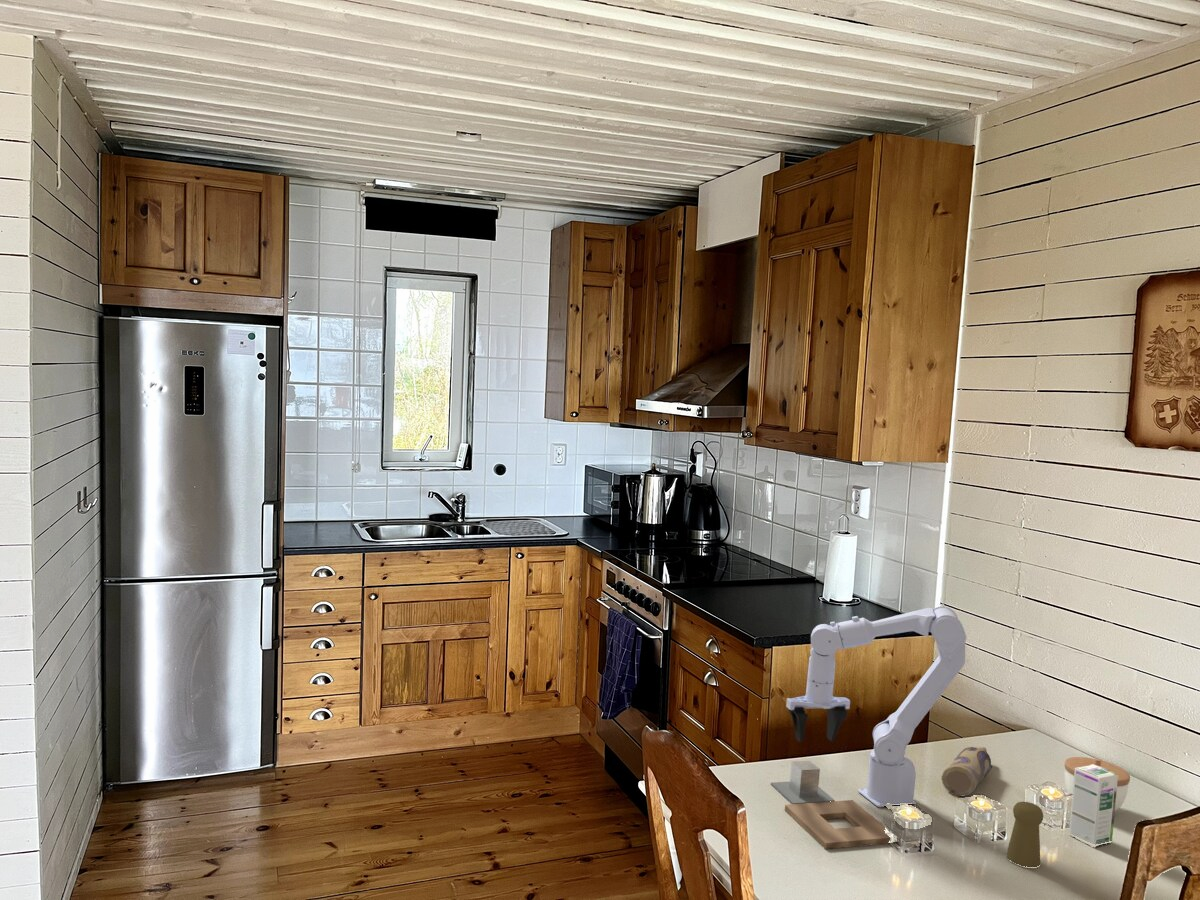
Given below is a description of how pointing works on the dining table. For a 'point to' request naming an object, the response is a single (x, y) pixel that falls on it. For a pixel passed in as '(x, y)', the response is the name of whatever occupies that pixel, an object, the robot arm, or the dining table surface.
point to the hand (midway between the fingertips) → (814, 740)
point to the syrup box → (1093, 804)
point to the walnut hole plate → (829, 837)
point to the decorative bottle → (966, 770)
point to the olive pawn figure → (1025, 835)
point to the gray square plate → (794, 799)
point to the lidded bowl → (1083, 761)
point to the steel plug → (804, 778)
